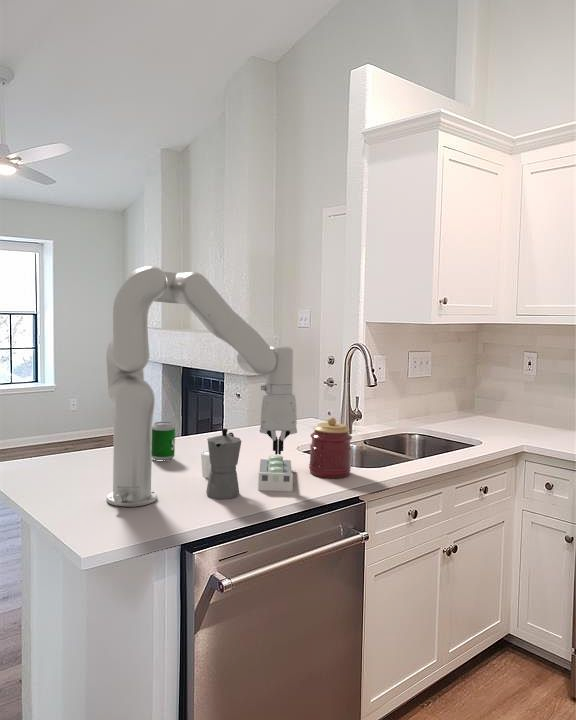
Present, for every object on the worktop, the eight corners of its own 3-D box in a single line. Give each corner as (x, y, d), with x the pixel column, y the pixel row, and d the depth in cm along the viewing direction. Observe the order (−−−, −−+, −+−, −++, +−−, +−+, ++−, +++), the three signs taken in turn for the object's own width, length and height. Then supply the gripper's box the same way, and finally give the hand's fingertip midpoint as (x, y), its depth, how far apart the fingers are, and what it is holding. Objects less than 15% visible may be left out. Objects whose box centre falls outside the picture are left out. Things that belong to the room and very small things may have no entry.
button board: (292, 491, 169) (293, 474, 169) (258, 490, 169) (258, 472, 169) (290, 469, 193) (290, 454, 192) (260, 468, 193) (260, 453, 192)
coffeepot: (233, 503, 157) (235, 434, 156) (198, 500, 159) (200, 432, 157) (247, 486, 172) (249, 424, 171) (214, 484, 174) (216, 421, 172)
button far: (282, 467, 186) (283, 458, 186) (268, 467, 186) (268, 458, 186) (282, 464, 190) (282, 455, 190) (268, 463, 190) (268, 455, 190)
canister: (358, 476, 188) (361, 419, 186) (323, 480, 181) (325, 422, 180) (335, 466, 199) (337, 413, 198) (301, 470, 193) (303, 415, 191)
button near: (283, 480, 172) (283, 470, 172) (267, 480, 172) (268, 470, 172) (283, 476, 176) (283, 466, 176) (267, 475, 176) (268, 466, 176)
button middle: (283, 474, 179) (283, 464, 179) (268, 473, 179) (268, 464, 179) (282, 470, 183) (283, 460, 183) (268, 469, 183) (268, 460, 183)
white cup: (201, 479, 178) (202, 455, 178) (199, 473, 185) (199, 450, 184) (225, 478, 180) (225, 455, 179) (221, 472, 187) (222, 450, 186)
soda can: (168, 463, 195) (169, 426, 195) (147, 461, 197) (147, 424, 196) (177, 457, 203) (178, 422, 202) (156, 455, 204) (157, 420, 203)
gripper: (252, 391, 168) (251, 456, 170) (306, 392, 169) (304, 457, 170) (253, 387, 176) (252, 450, 177) (304, 388, 176) (303, 450, 178)
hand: (277, 453), depth 174 cm, fingers closed
